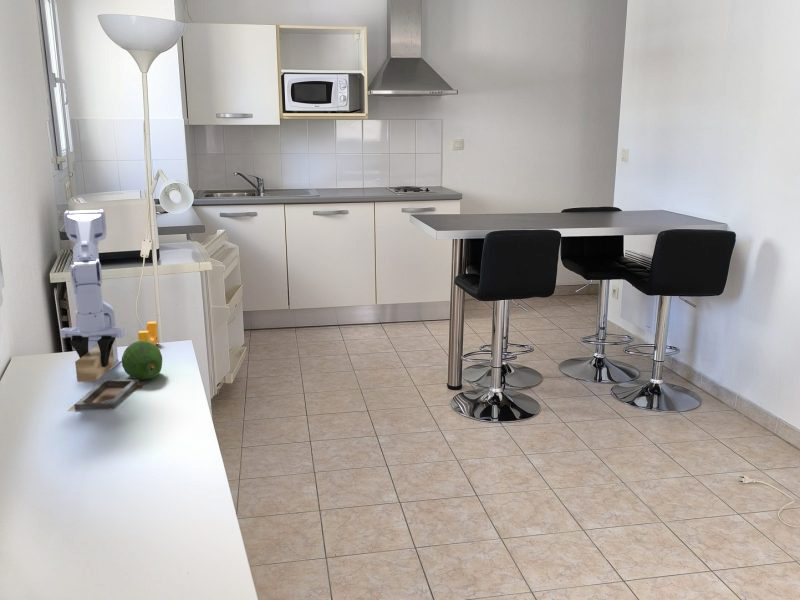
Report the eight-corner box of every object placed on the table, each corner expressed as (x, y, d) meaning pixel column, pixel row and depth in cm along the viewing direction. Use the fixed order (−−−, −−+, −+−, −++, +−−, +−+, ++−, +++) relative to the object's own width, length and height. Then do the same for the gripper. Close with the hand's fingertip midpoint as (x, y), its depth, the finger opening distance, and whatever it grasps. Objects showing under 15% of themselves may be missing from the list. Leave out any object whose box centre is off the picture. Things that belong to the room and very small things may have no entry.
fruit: (170, 385, 185) (167, 348, 183) (129, 391, 181) (126, 353, 178) (158, 367, 198) (155, 333, 196) (120, 373, 193) (117, 338, 191)
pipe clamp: (143, 342, 222) (142, 321, 221) (158, 341, 222) (156, 321, 221) (133, 354, 210) (131, 332, 209) (148, 353, 211) (147, 332, 209)
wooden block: (98, 365, 180) (96, 346, 179) (114, 365, 180) (112, 346, 179) (77, 381, 168) (75, 361, 167) (94, 382, 168) (92, 361, 167)
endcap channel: (98, 386, 184) (97, 378, 183) (145, 387, 184) (144, 378, 183) (67, 413, 167) (66, 405, 166) (119, 414, 167) (118, 405, 166)
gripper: (51, 315, 167) (58, 371, 170) (114, 315, 167) (119, 371, 170) (65, 308, 174) (71, 361, 177) (125, 308, 174) (130, 361, 177)
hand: (95, 365), depth 174 cm, fingers closed on wooden block, 4 cm apart
